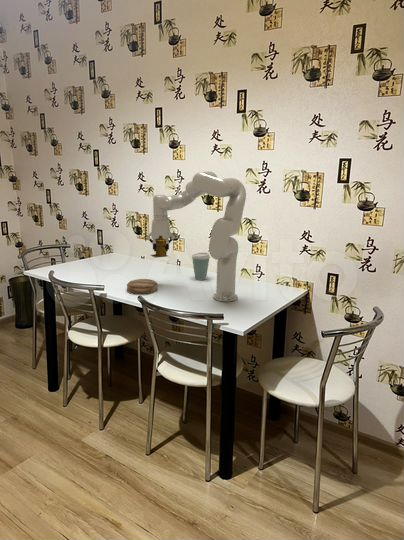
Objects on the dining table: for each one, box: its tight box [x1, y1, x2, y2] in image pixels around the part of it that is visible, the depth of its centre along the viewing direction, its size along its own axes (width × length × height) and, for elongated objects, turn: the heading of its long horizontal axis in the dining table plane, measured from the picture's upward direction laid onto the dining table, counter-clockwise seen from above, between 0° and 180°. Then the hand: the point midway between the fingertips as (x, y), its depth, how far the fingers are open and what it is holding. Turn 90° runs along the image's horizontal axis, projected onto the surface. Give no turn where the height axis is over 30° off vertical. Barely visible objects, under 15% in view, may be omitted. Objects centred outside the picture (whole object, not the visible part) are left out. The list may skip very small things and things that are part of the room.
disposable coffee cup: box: [191, 252, 211, 281], centre depth 252 cm, size 11×11×15 cm
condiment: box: [150, 236, 169, 259], centre depth 235 cm, size 7×8×12 cm
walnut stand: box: [126, 278, 158, 295], centre depth 230 cm, size 16×16×4 cm
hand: (160, 250), depth 236 cm, fingers closed on condiment, 6 cm apart
